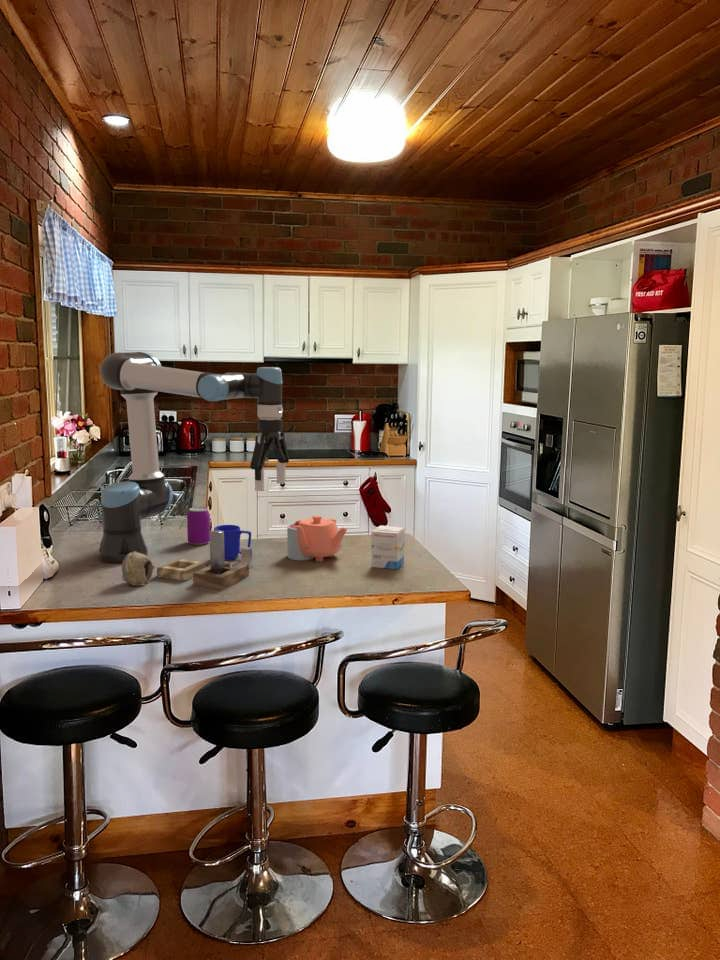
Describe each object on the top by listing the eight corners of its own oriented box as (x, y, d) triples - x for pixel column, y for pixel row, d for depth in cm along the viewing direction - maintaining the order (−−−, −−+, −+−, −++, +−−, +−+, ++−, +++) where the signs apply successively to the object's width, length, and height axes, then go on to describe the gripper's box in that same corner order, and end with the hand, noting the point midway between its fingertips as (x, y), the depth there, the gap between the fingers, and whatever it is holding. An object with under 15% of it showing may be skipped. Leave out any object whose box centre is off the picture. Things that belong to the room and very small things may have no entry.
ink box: (404, 562, 244) (405, 526, 242) (397, 570, 236) (398, 533, 234) (378, 559, 247) (379, 524, 245) (370, 567, 239) (371, 530, 237)
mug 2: (281, 556, 249) (281, 526, 247) (302, 550, 256) (302, 521, 254) (311, 564, 240) (311, 533, 238) (331, 559, 247) (331, 528, 245)
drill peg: (208, 583, 221) (206, 532, 218) (215, 579, 224) (214, 529, 222) (220, 585, 219) (218, 534, 217) (227, 581, 223) (226, 531, 220)
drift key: (245, 565, 238) (244, 546, 237) (252, 566, 237) (252, 547, 236) (231, 572, 231) (231, 553, 230) (238, 573, 230) (238, 554, 229)
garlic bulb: (128, 595, 217) (116, 566, 212) (124, 582, 224) (113, 553, 220) (160, 582, 219) (149, 553, 215) (156, 569, 227) (145, 541, 222)
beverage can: (208, 539, 269) (208, 505, 267) (211, 544, 262) (211, 510, 260) (186, 540, 267) (185, 507, 265) (189, 546, 260) (188, 511, 257)
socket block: (220, 571, 232) (219, 560, 231) (248, 575, 228) (248, 564, 228) (193, 584, 219) (193, 573, 219) (223, 589, 215) (223, 577, 215)
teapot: (347, 561, 244) (347, 520, 241) (295, 565, 239) (295, 523, 237) (334, 548, 259) (334, 509, 257) (285, 552, 254) (284, 512, 252)
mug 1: (246, 563, 241) (246, 532, 239) (210, 560, 244) (210, 529, 242) (255, 556, 249) (255, 526, 247) (220, 553, 251) (219, 524, 250)
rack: (157, 576, 226) (156, 567, 226) (177, 567, 235) (177, 558, 235) (185, 581, 222) (185, 571, 222) (205, 571, 232) (204, 562, 231)
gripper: (260, 422, 221) (261, 495, 224) (299, 415, 243) (299, 481, 247) (237, 421, 223) (238, 492, 227) (278, 414, 246) (279, 479, 250)
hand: (270, 487), depth 237 cm, fingers open, 13 cm apart
